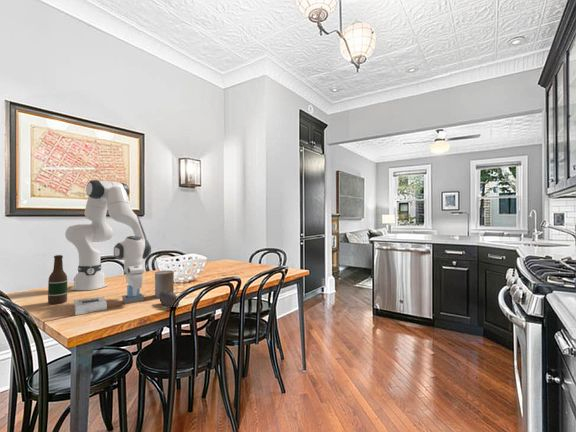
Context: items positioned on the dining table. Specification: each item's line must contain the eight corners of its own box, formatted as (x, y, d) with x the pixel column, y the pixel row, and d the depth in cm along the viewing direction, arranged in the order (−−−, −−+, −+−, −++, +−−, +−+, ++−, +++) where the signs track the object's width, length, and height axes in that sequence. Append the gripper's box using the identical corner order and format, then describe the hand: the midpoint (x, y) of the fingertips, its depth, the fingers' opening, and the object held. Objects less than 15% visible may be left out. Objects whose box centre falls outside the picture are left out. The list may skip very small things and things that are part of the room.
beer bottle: (70, 301, 158) (71, 254, 158) (55, 305, 150) (56, 256, 150) (59, 300, 160) (60, 254, 160) (43, 304, 152) (44, 255, 153)
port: (74, 308, 145) (74, 300, 145) (103, 304, 153) (103, 296, 153) (75, 315, 136) (75, 306, 136) (106, 310, 143) (106, 301, 143)
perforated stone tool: (182, 308, 148) (182, 294, 148) (172, 311, 144) (172, 296, 144) (168, 302, 158) (168, 289, 158) (158, 304, 154) (158, 290, 155)
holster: (122, 301, 158) (122, 295, 158) (140, 299, 164) (140, 293, 164) (125, 304, 153) (125, 298, 153) (144, 302, 158) (144, 296, 158)
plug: (126, 300, 158) (127, 283, 158) (137, 299, 161) (138, 282, 161) (128, 302, 155) (128, 284, 155) (139, 300, 158) (139, 283, 159)
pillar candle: (176, 294, 174) (176, 268, 174) (168, 299, 164) (168, 271, 165) (160, 294, 175) (160, 268, 175) (151, 298, 165) (151, 270, 165)
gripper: (123, 265, 165) (122, 291, 165) (131, 271, 149) (130, 299, 148) (135, 264, 169) (135, 289, 168) (145, 269, 152) (144, 297, 152)
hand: (133, 294), depth 158 cm, fingers closed on plug, 4 cm apart
